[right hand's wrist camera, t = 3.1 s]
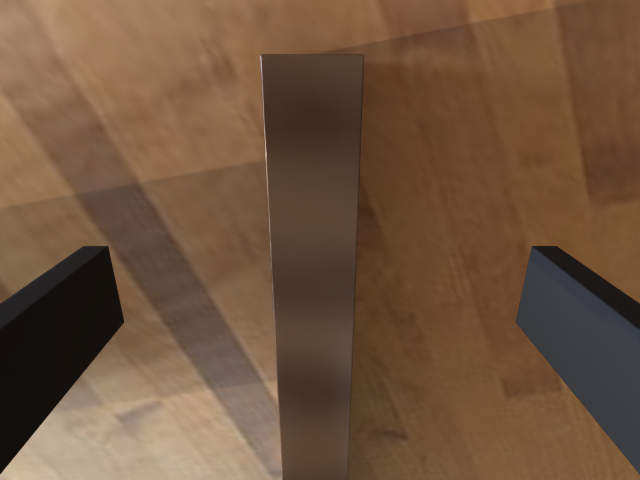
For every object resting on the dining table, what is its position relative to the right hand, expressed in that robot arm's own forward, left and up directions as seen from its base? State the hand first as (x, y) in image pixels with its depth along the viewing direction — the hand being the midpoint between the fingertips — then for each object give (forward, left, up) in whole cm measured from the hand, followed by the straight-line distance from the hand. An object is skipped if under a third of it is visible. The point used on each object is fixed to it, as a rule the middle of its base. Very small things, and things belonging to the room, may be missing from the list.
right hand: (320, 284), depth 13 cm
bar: (-3, -23, -17) cm, 29 cm away
